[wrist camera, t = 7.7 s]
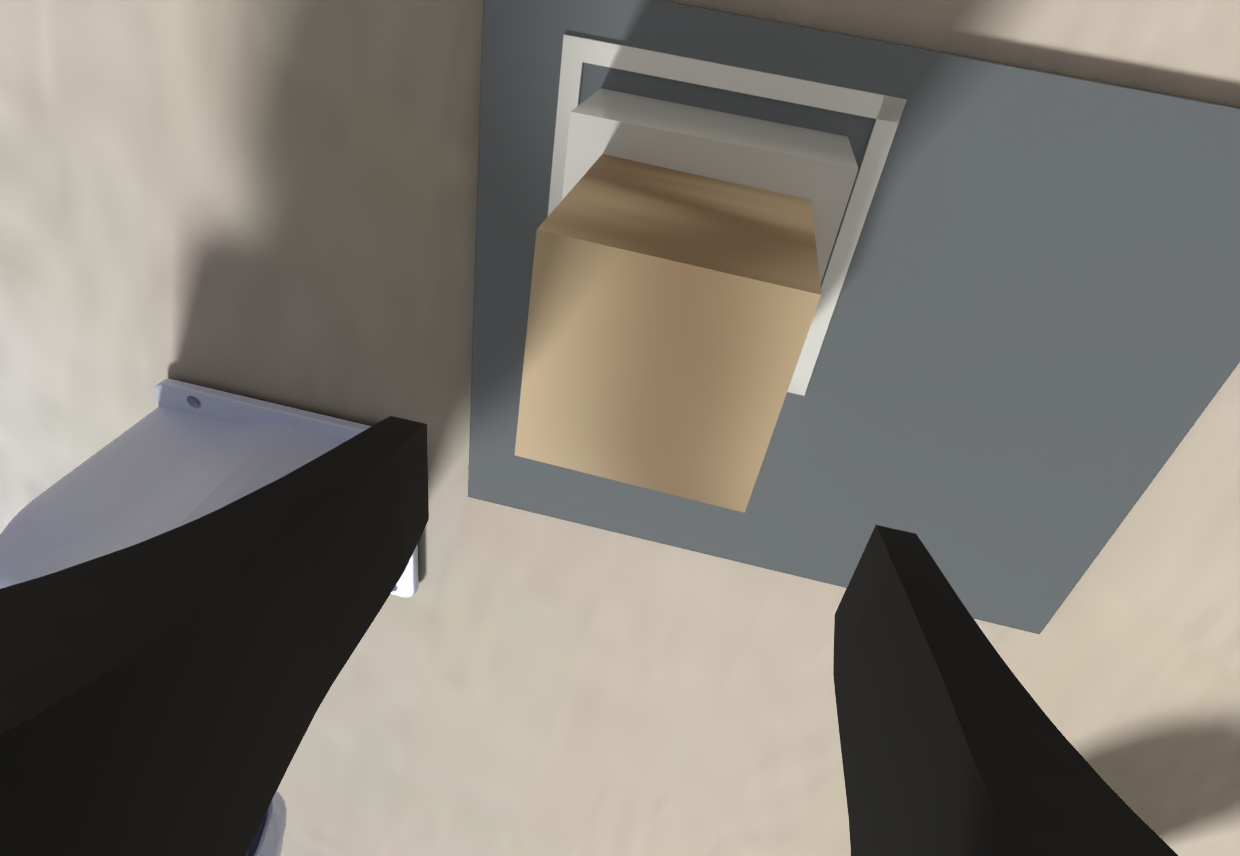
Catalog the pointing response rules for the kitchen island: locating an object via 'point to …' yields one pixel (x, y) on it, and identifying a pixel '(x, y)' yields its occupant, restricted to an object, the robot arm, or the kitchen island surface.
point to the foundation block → (717, 152)
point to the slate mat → (899, 293)
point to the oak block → (665, 329)
